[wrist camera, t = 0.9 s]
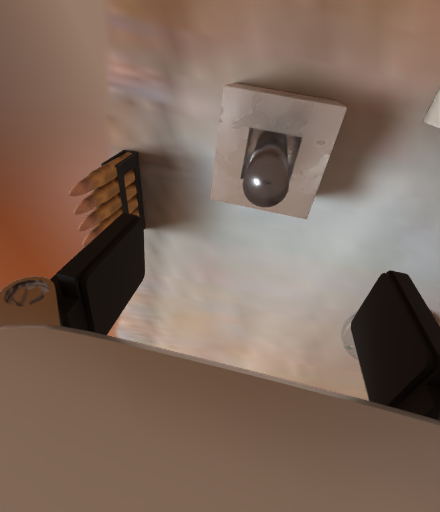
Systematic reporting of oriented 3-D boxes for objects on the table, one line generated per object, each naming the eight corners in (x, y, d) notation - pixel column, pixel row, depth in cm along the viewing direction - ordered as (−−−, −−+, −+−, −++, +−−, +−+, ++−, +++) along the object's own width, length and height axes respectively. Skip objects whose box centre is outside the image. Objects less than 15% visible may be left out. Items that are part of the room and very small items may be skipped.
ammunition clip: (145, 228, 39) (100, 281, 30) (133, 226, 39) (84, 278, 30) (137, 151, 33) (76, 186, 23) (123, 149, 33) (57, 183, 24)
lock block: (335, 100, 27) (347, 107, 22) (303, 196, 32) (306, 219, 27) (234, 82, 27) (223, 85, 22) (220, 179, 33) (209, 198, 28)
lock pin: (293, 140, 28) (298, 178, 19) (275, 167, 30) (271, 215, 20) (267, 123, 28) (258, 153, 18) (250, 152, 30) (234, 193, 20)
